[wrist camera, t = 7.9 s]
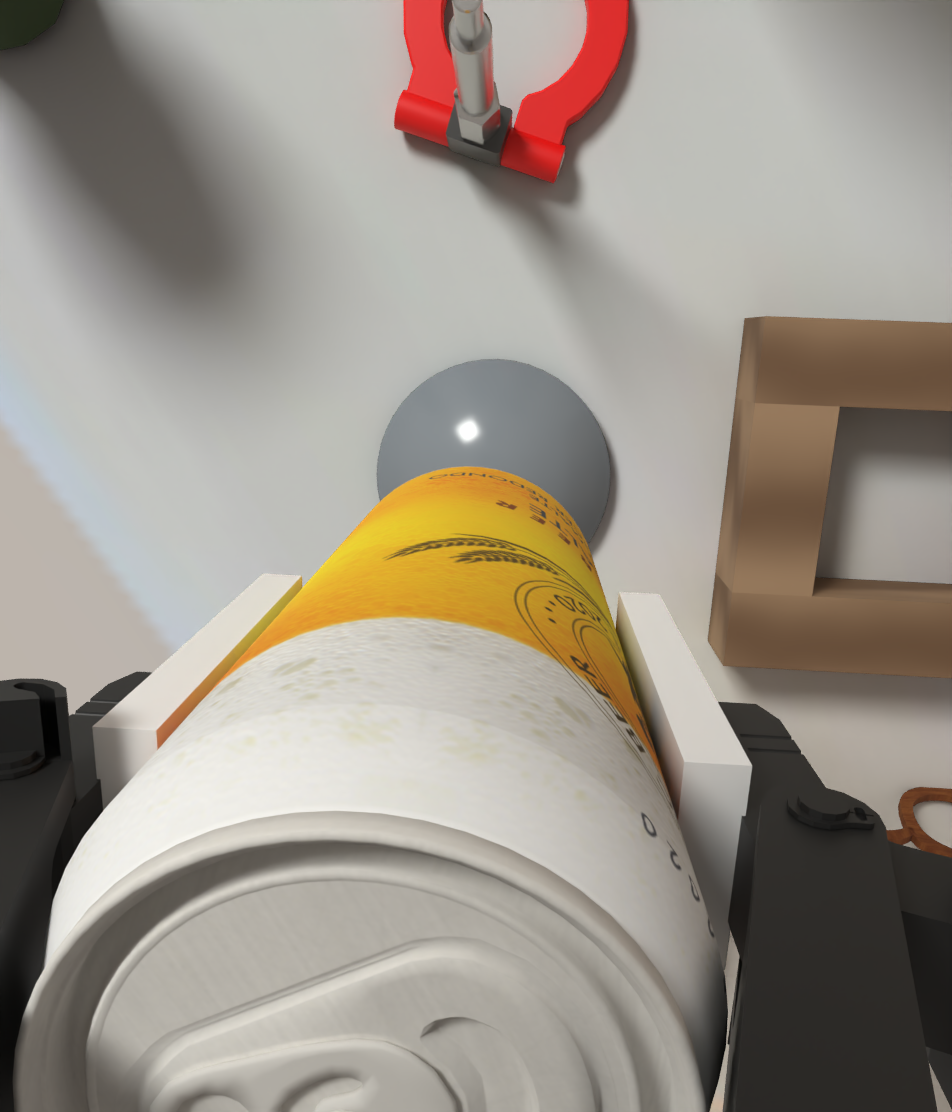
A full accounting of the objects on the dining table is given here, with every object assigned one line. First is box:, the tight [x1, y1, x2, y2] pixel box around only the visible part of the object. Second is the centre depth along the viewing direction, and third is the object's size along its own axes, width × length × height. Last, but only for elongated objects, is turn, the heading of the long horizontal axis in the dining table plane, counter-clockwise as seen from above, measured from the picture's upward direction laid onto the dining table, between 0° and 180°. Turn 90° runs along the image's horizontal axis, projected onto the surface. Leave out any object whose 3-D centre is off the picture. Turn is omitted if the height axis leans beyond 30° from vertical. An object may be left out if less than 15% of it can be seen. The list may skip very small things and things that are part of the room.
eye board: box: [708, 316, 952, 678], centre depth 34 cm, size 14×14×3 cm
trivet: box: [377, 359, 610, 544], centre depth 36 cm, size 10×10×1 cm
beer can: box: [12, 466, 728, 1112], centre depth 13 cm, size 6×6×15 cm
